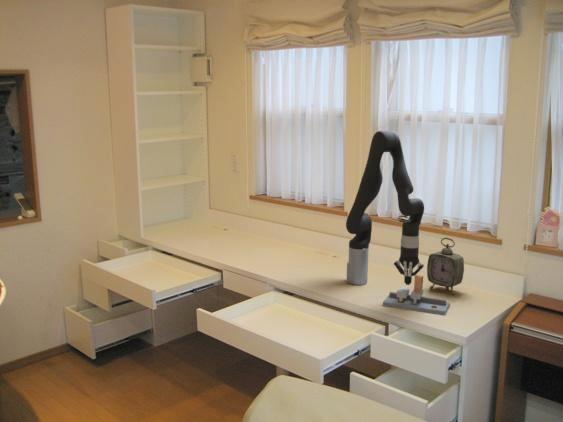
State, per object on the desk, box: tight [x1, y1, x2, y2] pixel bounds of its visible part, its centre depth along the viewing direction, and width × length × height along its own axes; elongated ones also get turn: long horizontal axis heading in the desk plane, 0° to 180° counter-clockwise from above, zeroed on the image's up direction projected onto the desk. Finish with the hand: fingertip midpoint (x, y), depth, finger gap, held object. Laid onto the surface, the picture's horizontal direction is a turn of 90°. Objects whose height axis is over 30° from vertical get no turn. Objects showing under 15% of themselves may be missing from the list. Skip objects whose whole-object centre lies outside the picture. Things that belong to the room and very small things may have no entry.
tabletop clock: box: [426, 237, 465, 296], centre depth 281 cm, size 14×9×25 cm, turn 45°
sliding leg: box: [410, 274, 424, 304], centre depth 263 cm, size 4×8×10 cm, turn 156°
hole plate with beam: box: [382, 286, 451, 316], centre depth 264 cm, size 26×12×6 cm, turn 66°
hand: (407, 284), depth 267 cm, fingers closed
